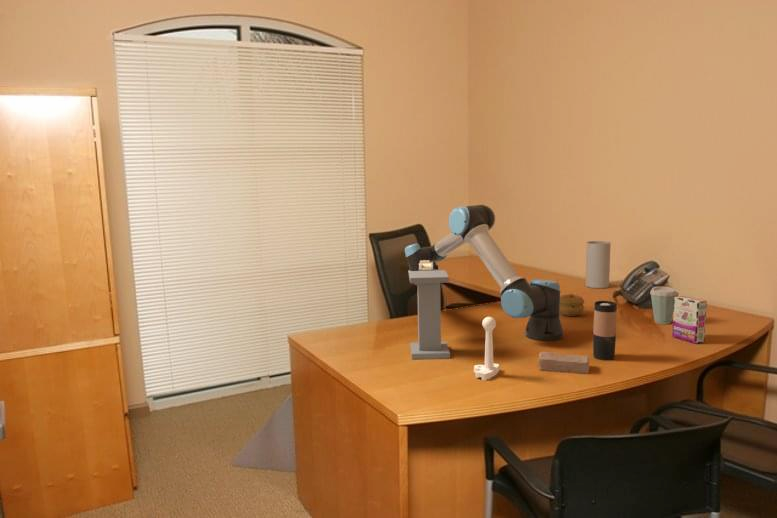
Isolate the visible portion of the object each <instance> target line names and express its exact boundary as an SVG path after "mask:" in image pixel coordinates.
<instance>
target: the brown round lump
mask: <svg viewBox="0 0 777 518" xmlns="http://www.w3.org/2000/svg"><path fill="white" fill-rule="evenodd" d="M584 304H585V300H584V299H583V297H581V296H580V295H576V294H573V293H569V294H564V295H560V312H559V314H562V315H564V316H567V317H576V316H577V317H578V316H579V315H581V314H582V313H583V312H584V310H585V306H584Z"/></svg>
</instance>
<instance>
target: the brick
mask: <svg viewBox="0 0 777 518" xmlns="http://www.w3.org/2000/svg"><path fill="white" fill-rule="evenodd" d="M538 368H539V369H538V370H539V371H540V370H541V371H545V372H555V373H556V372H558V373H567V374H587V375H588V374H589V373H590V359H589V356H588V355H579V354H567V355H566V354H563V353H555V352H550V351H549V352H548V351H540V353H539V354H538Z"/></svg>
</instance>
